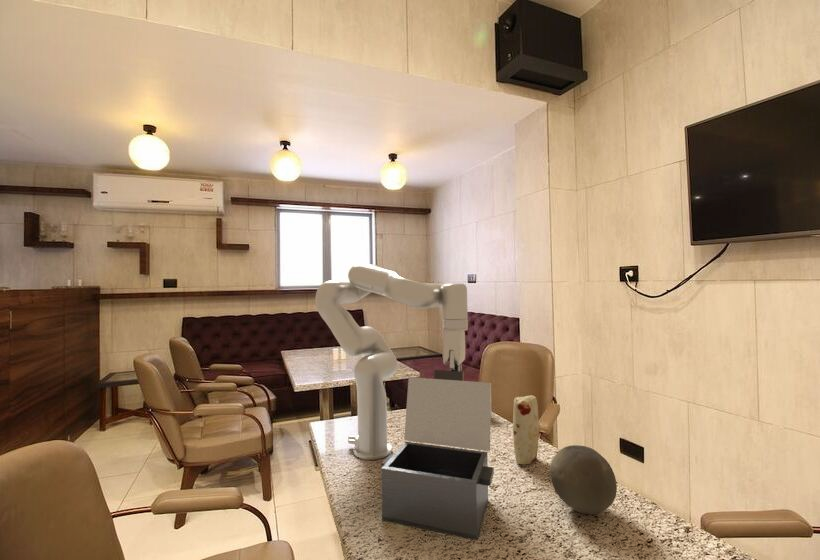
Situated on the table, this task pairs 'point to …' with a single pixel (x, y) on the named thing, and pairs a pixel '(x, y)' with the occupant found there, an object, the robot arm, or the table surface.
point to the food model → (525, 429)
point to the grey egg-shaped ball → (583, 479)
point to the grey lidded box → (436, 488)
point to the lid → (449, 411)
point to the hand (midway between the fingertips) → (456, 386)
